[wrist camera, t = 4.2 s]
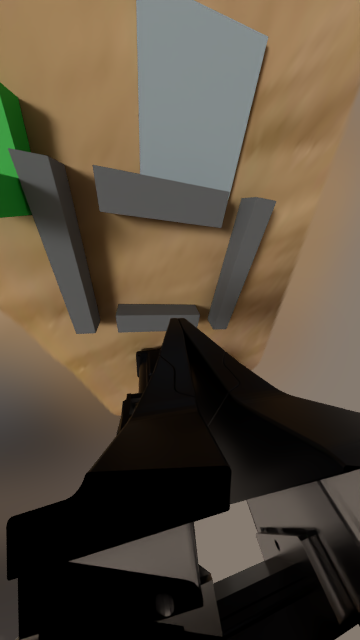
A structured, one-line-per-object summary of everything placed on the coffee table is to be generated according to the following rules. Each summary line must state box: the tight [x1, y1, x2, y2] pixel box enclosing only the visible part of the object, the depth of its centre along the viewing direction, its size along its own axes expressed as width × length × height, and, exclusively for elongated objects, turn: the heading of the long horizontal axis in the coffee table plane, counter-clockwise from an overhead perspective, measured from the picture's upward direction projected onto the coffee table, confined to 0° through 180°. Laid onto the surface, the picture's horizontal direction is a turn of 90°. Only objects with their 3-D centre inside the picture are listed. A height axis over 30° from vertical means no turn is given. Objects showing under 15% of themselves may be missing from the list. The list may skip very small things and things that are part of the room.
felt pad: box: [136, 0, 268, 199], centre depth 11 cm, size 8×8×1 cm
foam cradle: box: [8, 148, 276, 334], centre depth 16 cm, size 14×19×2 cm
